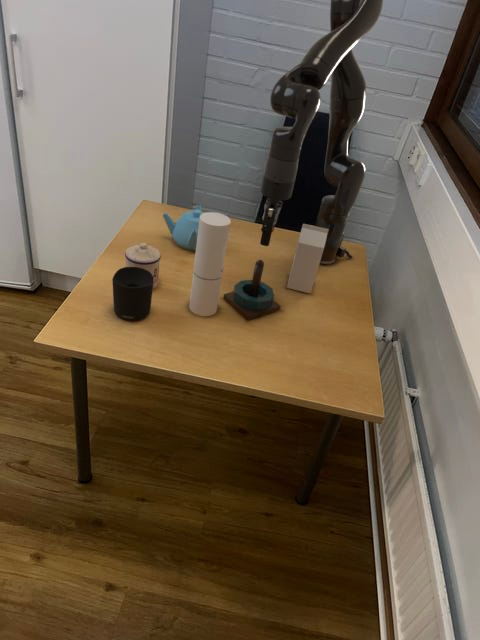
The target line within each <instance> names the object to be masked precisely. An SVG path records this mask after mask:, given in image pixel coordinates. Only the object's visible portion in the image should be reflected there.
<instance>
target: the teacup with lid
mask: <svg viewBox="0 0 480 640" xmlns="http://www.w3.org/2000/svg"><path fill="white" fill-rule="evenodd" d="M124 256H125V267H139V268H143V269H146V270H148V271H149V272H150V273H151V274H152V276H153V290H154V289H155V288H156V287H157V286H158V284H159V277H160V276H159V275H160V262H161V261H160V260H161V259H162V255H161V253H160V251H159V250H158V249H157V247H154V246H151V245H148V244H147V243H146V242H140V243H139V244H134V245H132V246H129V247H128V248H127V249H126V250H125V253H124Z"/></svg>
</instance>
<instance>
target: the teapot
mask: <svg viewBox="0 0 480 640" xmlns="http://www.w3.org/2000/svg"><path fill="white" fill-rule="evenodd" d="M203 213H204V212H203V211H202V205H196V207H195V209H192V210H187V211H185V212H184V213H182V214H181V216H179V218H178V219H177V221H173V218H172V217H171V216H170V214H169V213H166V212H164V213H162V217H163V220H164V222H165V224H166V226H167V228H168V230H169V233H170V235H171V237H172V240H173V241H174V243H175V244H176V245H177V246H179V247H180V248H182V249H184V250H188V251H192V252H193V251H194V252H196V245H197V236H198V228H199V219H200V215H201V214H203Z"/></svg>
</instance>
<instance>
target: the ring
mask: <svg viewBox="0 0 480 640" xmlns="http://www.w3.org/2000/svg"><path fill="white" fill-rule="evenodd" d="M251 283H252V279H243V280H240V281H239V282H237V283H236V284H235V285H234V286H233V291H234V292H233V291H232V292H233V296H234V301H235V302H236V303H237V304H239V305H240V306H241V307H243V308H246V309H250V310H254V311H255V310H256V311H258V310H265V309H268V308H269V307H270V306H271V305H272V303H273V300H274V299H275V292H274V289H273V287H271V286H270V285H268V284H266V282H263V281H261V282H260V286H259V291H258V294H259V295H261V296H262V297H257V298H256V297H252V296H248V295H247V294H245V293H247V292H250V288H251Z"/></svg>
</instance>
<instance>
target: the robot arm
mask: <svg viewBox="0 0 480 640" xmlns="http://www.w3.org/2000/svg"><path fill="white" fill-rule="evenodd" d="M383 4H384V0H330V6H329V29H330V32H328V33H327V34H325V35H323V36H322V37H320V38H319V39H318V40H317V41H316V42H314V44H312V45H311V47H310V48H309V49H308V51H307V53H306V54H305V55H304V56H303V58H302V60H301V61H300V63H298V64H297V65H295V66H294V67H293V68H291V69H289V70H288V71H287V72H286V73H284V75H282V76H281V77H280V78H279V79H278V80H277V81H276V83H274V86H273V87H272V89H271V92H270V95H269V104H270V107H271V109H272V111H273V112H274V113H275V114H278V115H281V116H284V117H287V118H290V119H293V120H295V122H294V124H293V126H278V127H276V128H274V129H273V131H272V133H271V139H270V144H269V149H268V154H267V158H266V161H265V163H264V164H265V165H264V170H263V176H262V181H261V187H260V193H261V194H262V195H263V196H264V197H266V200H265V201H266V202H264V207H263V209H264V210H263V211H264V212H263V216H262V227H261V229H260V230H261V231H260V232H261V237H260V242H259V243H260V246H264V247H268V246H270V242H271V239H272V238H271V237H272V234H273V232H274V231H275V226H276V224H277V222H278V218H279V215H280V213H281V209H282V208H283V203H284V202H283V201H287V200H290V199H291V198H292V196H293V191H294V187H295V183H296V177H297V173H298V169H299V160H300V155H301V151H302V147H303V142H304V140H305V137H306V135H307V132H308V130H309V128H310V126H311V124H312V122H313V121H314V119H315V118H316V117H315V116H316V114H317V113H318V111H319V109H320V105H321V94H320V90H321V89H323V88H324V87H325V85H326V84H327V82H328V81H329V80H330V88H329V118H328V119H329V120H328V121H329V122H328V134H327V135H328V137H327V146H326V153H325V161H324V177H325V180H326V181H327V182H328V183H329V184H330V185H332V186H334V187H336V188H337V190H336V192H335V194H331V195H330V194H329V195H325V196H324V197H322V199H321V203H320V207H319V210H318V213H317V218H316V221H315V225H314V226H316V227H320V228H325V229H328V233H327V238H326V242H325V246H324V250H323V253H322V257H321V260H320V263H319V265H323V266H324V265H333V264H335V262H336V260H337V259H338V258H340V259H341V258H344V257H345V255H346V256H347V257H348V258H349V259H352V258H353V255H352V254H351V253H350V252H349V251H348V250H347V248H346V247H344V246H342V244H343V240H344V238H345V230H346V226H347V223H348V219H349V216H350V213H351V211H352V208H353V207H354V205H355V203H356V201H357V199H358V196H359V194H360V190H361V188H362V185H363V183H364V180H365V177H366V166H365V164H364V163H363V162H362V161H360V160H359V159H355V158H354V157H352V156H350V155H349V140H350V136H351V134H352V132H353V131H354V129H355V128H356V126H357V125H358V124H359V122H360V120H361V118H362V116H363V115H364V111H365V107H366V106H365V105H366V94H367V83H366V79H365V76H364V74H363V72H362V69H361V68H360V66H359V63H358V61H357V60H356V58H355V57H356V56H355V55H354V52H353V50H352V49H353V48H354V47H355V46H356V45H357V44H359V43H360V41H361V40H362V39H363V38H364V37H366V35H367V34H368V33H369V32H370V31H371V30H372V29H373V28H374V26H375V25H376V24H377V22H378V20H379V18H380V16H381V12H382V10H383Z"/></svg>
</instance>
